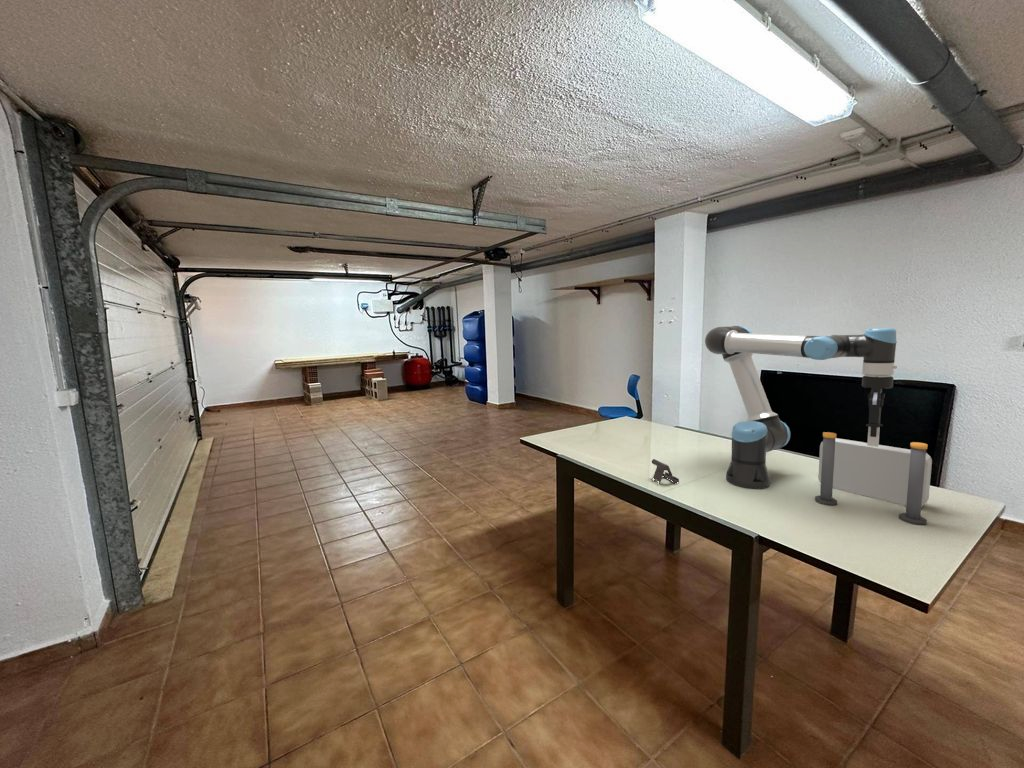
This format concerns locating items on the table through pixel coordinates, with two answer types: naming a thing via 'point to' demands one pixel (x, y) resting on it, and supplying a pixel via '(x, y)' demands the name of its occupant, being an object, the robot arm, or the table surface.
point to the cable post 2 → (915, 485)
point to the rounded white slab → (874, 471)
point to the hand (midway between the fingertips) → (872, 445)
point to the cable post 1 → (827, 470)
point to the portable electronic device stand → (660, 472)
